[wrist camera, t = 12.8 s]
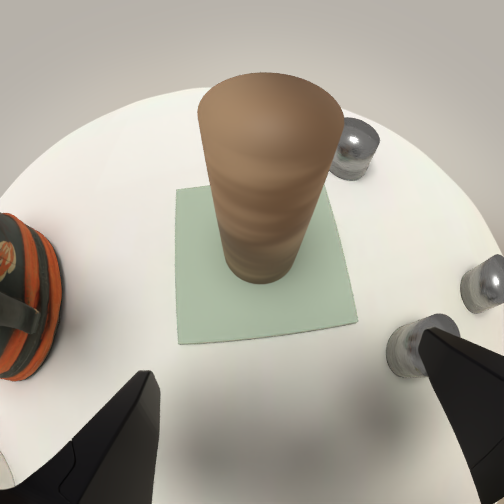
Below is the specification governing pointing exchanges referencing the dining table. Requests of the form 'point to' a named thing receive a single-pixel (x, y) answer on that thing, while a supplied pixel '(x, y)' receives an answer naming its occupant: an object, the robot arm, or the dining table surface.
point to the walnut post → (266, 166)
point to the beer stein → (26, 298)
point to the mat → (255, 295)
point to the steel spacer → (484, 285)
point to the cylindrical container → (5, 475)
